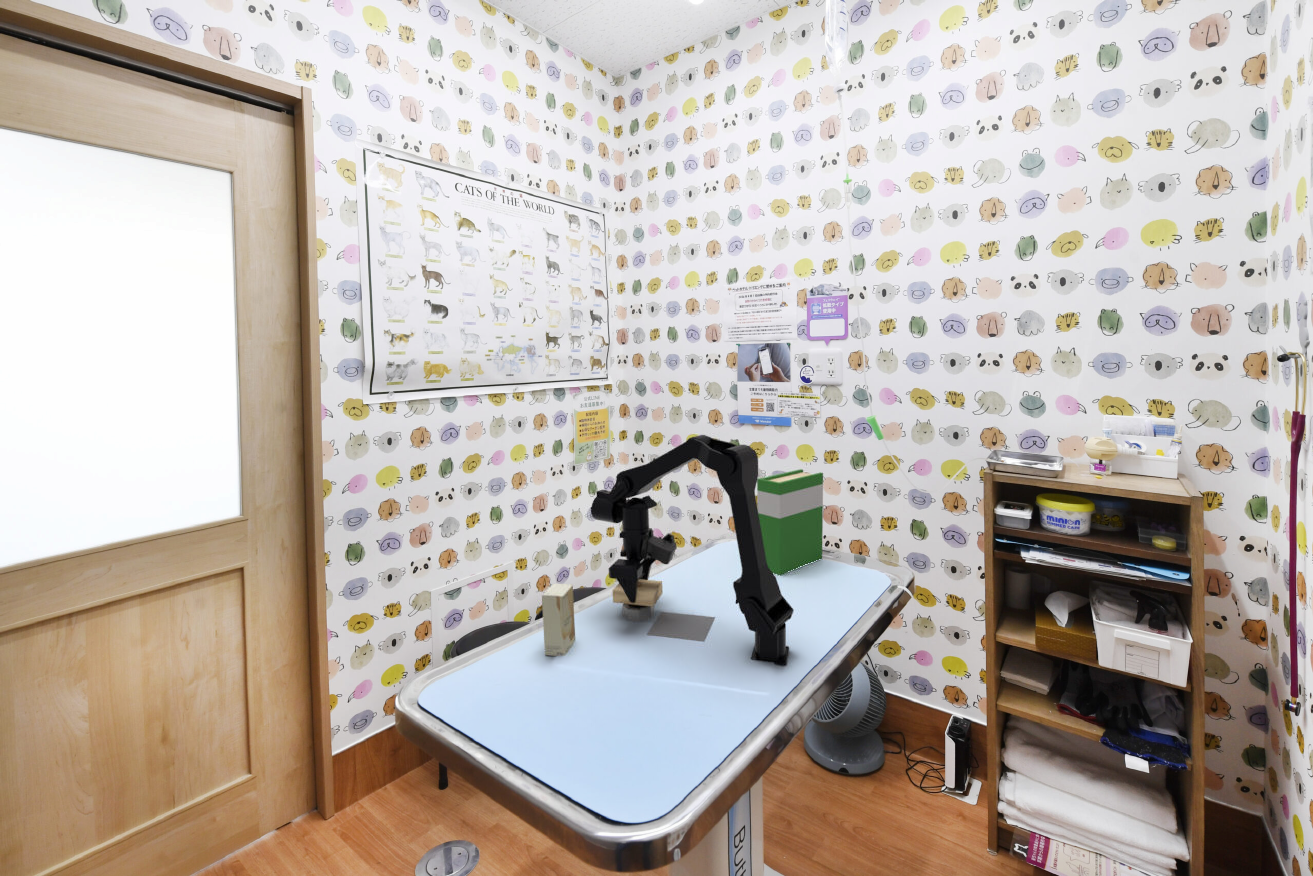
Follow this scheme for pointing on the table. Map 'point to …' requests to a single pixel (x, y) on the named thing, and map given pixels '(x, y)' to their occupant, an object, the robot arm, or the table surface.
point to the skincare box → (558, 619)
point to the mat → (682, 626)
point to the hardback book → (791, 519)
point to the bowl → (637, 612)
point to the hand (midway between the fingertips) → (638, 595)
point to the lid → (640, 593)
